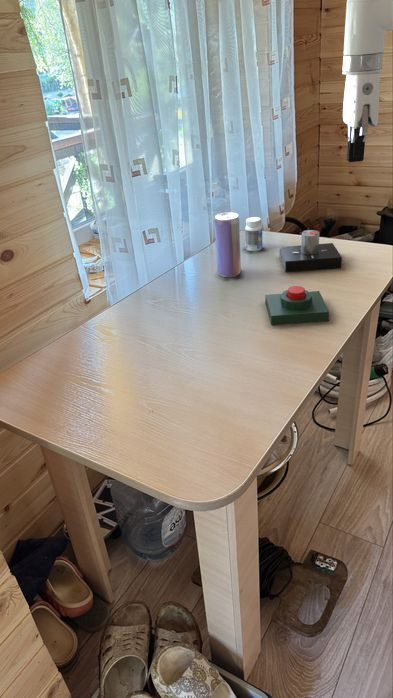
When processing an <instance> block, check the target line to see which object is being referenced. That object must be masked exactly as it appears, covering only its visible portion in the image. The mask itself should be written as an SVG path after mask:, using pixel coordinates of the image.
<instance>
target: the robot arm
mask: <svg viewBox="0 0 393 698" xmlns="http://www.w3.org/2000/svg"><path fill="white" fill-rule="evenodd" d="M345 5H346V7H345V21H344V23H345V24H344V41H343V56H342V73H341V74H342V75H343V76H345V75H346V77H345V82H344V93H343V103H342V104H343V107H342V120H343V123H344V124H345V125H347V149H346V161H347V162H348V163H357V162H363V161H364V159H365V150H366V149H365V146H366V139H367V136H368V134H369V126H370V127H372V128H375V127H377V126H378V125H379V113H380V93H381V91H380V90H381V87H380V86H381V84H380V80H381V78H380V73H382V72H383V62H384V52H385V41H386V33H387V31H393V0H346V4H345Z"/></svg>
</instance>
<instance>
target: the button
mask: <svg viewBox="0 0 393 698" xmlns="http://www.w3.org/2000/svg"><path fill="white" fill-rule="evenodd" d="M287 290H288V298H289V299H292V300H301V299H304V298H305V290H306V289H305V287H303V286H300V285H293V286H289V287H288V289H287Z"/></svg>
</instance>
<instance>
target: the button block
mask: <svg viewBox="0 0 393 698" xmlns="http://www.w3.org/2000/svg"><path fill="white" fill-rule="evenodd" d="M264 298H265V299H264V303H265V306H266V311H267V315H268V318H269V322H270V326H278V325H292V324H293V325H294V324H305V323H308V324H309V323H320V322H329V320H330V311H329V309H328V306H327V304H326V302H325V300H324V298H323V296H322V294H321V292H320V290H311V291H308V290H306V289H305V298H304V299H301V300H292V299H289V298H288V289H286V290H284V291H282V292H281V293H272V294H271V293H270V294H265V296H264Z"/></svg>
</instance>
